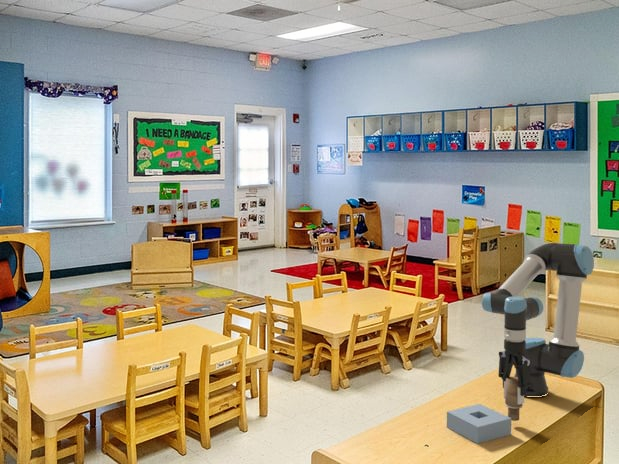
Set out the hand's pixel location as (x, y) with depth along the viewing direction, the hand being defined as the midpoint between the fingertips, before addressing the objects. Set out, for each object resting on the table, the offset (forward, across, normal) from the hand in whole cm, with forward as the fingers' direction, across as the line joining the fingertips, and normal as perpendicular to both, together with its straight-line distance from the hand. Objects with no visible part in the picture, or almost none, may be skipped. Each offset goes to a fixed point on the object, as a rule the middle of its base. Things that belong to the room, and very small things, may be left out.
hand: (513, 400), depth 228 cm
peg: (+7, 0, 0) cm, 7 cm away
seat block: (+9, -3, -15) cm, 18 cm away
